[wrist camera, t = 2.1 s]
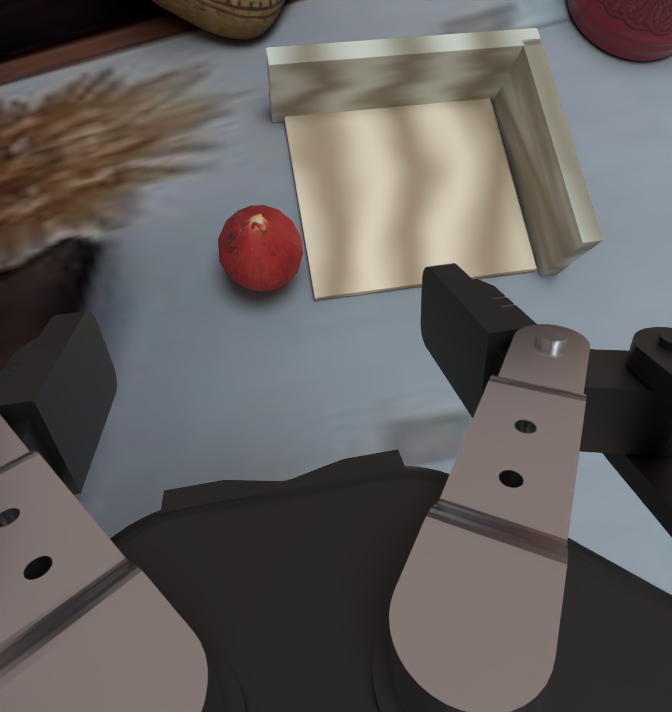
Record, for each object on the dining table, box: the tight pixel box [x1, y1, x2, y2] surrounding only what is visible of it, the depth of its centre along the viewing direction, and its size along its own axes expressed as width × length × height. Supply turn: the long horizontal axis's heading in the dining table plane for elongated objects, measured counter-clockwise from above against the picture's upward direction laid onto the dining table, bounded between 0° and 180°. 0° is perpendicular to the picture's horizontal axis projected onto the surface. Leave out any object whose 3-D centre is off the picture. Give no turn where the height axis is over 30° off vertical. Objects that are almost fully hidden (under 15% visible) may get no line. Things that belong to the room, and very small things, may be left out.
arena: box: [266, 28, 602, 301], centre depth 37 cm, size 21×18×6 cm
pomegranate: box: [218, 205, 303, 292], centre depth 34 cm, size 6×6×8 cm
